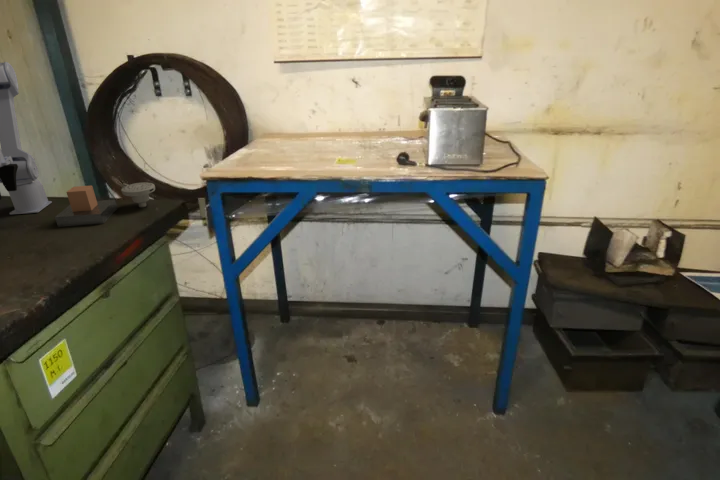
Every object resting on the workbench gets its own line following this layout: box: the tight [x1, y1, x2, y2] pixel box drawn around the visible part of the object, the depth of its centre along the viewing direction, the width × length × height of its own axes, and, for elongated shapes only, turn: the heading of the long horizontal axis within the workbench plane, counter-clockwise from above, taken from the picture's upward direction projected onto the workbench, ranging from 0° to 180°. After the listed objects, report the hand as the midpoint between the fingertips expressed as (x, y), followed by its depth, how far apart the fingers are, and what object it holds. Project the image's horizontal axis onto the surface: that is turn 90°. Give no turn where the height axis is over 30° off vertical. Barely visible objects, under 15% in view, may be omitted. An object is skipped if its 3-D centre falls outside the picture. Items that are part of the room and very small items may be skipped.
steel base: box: [54, 199, 118, 228], centre depth 125 cm, size 12×12×3 cm
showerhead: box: [120, 181, 156, 208], centre depth 133 cm, size 9×7×10 cm
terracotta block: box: [66, 185, 98, 212], centre depth 123 cm, size 5×5×6 cm
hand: (4, 195), depth 116 cm, fingers open, 7 cm apart
